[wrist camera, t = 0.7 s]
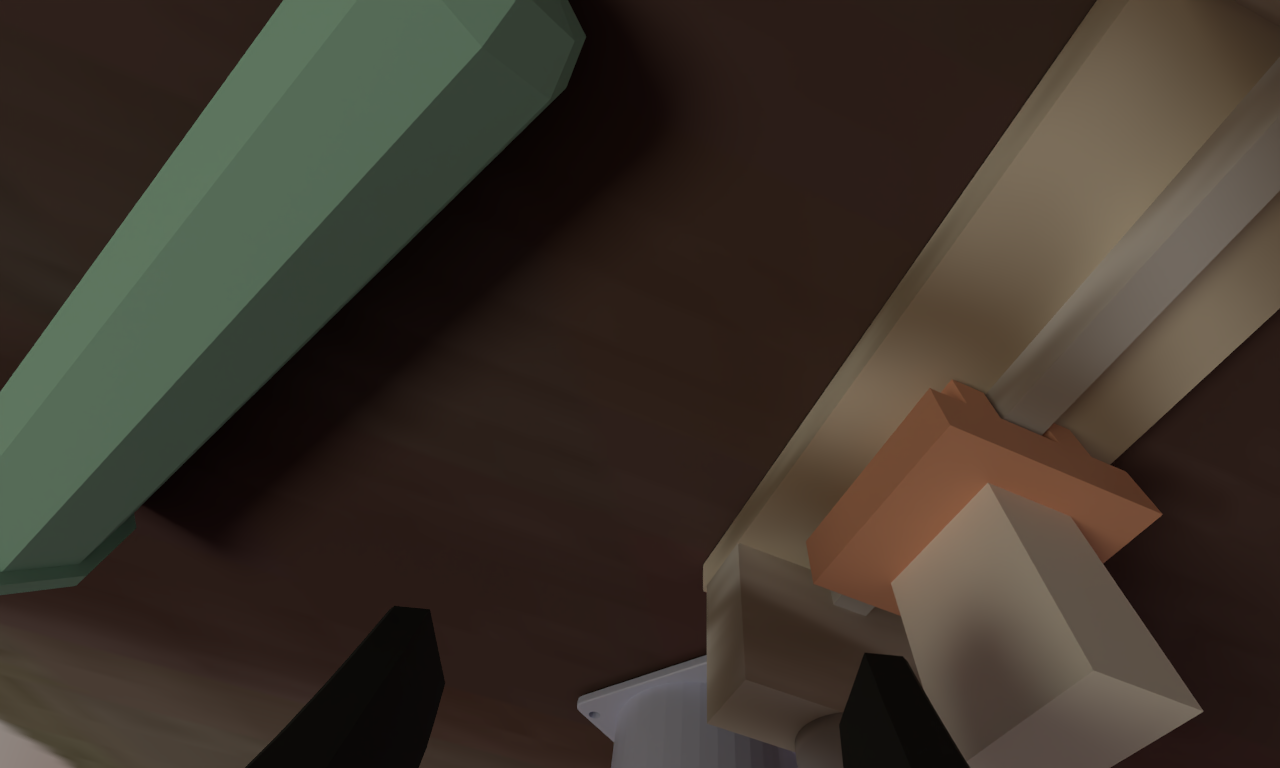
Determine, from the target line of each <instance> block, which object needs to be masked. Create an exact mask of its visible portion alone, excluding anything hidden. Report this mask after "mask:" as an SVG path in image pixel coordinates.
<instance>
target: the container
mask: <svg viewBox="0 0 1280 768" xmlns="http://www.w3.org/2000/svg"><path fill="white" fill-rule="evenodd" d="M585 38H586V35H585V33H584V31H583V29H582V27H581V25H580V23H579V21H578V19H577V17H576V15H575V13H574V11H573V9H572V7H571V5H570V3H569V1H568V0H283V2H282V3H281V4H280V6H279V7H278V9H277V10H276V11H275V13H274V14H273V16H272V17H271V18H270V20H269V21H268V22H267V24H266V25H265V27H264V28H263V29H262V31H261V32H260V33H259V35H258V36H257V38H256V39H255V40H254V42H253V43H252V45H251V46H250V47H249V49H248V50H247V51H246V53H245V54H244V56H243V57H242V58H241V60H240V61H239V63H238V64H237V65H236V67H235V68H234V69H233V71H232V72H231V74H230V75H229V76H228V78H227V79H226V81H225V82H224V83H223V85H222V86H221V87H220V89H219V90H218V92H217V93H216V94H215V96H214V97H213V98H212V100H211V101H210V103H209V104H208V105H207V107H206V108H205V110H204V111H203V112H202V114H201V115H200V116H199V118H198V119H197V121H196V122H195V123H194V125H193V126H192V128H191V129H190V130H189V132H188V133H187V134H186V136H185V137H184V139H183V140H182V141H181V143H180V144H179V146H178V147H177V148H176V150H175V151H174V152H173V154H172V155H171V157H170V158H169V159H168V161H167V162H166V163H165V165H164V166H163V168H162V169H161V170H160V172H159V173H158V175H157V176H156V177H155V179H154V180H153V181H152V183H151V184H150V186H149V187H148V188H147V190H146V191H145V193H144V194H143V195H142V197H141V198H140V199H139V201H138V202H137V204H136V205H135V206H134V208H133V209H132V211H131V212H130V213H129V215H128V216H127V217H126V219H125V220H124V222H123V223H122V224H121V226H120V227H119V228H118V230H117V231H116V233H115V234H114V235H113V237H112V238H111V240H110V241H109V242H108V244H107V245H106V246H105V248H104V249H103V251H102V252H101V253H100V255H99V256H98V258H97V259H96V260H95V262H94V263H93V264H92V266H91V267H90V269H89V270H88V271H87V273H86V274H85V275H84V277H83V278H82V280H81V281H80V282H79V284H78V285H77V287H76V288H75V289H74V291H73V292H72V293H71V295H70V296H69V298H68V299H67V300H66V302H65V303H64V305H63V306H62V307H61V309H60V310H59V311H58V313H57V314H56V316H55V317H54V318H53V320H52V321H51V323H50V324H49V325H48V327H47V328H46V329H45V331H44V332H43V334H42V335H41V336H40V338H39V339H38V340H37V342H36V343H35V345H34V346H33V347H32V349H31V350H30V352H29V353H28V354H27V356H26V357H25V358H24V360H23V361H22V363H21V364H20V365H19V367H18V368H17V370H16V371H15V372H14V374H13V375H12V376H11V378H10V379H9V381H8V382H7V383H6V385H5V386H4V388H3V389H2V390H1V392H0V595H5V594H13V593H21V592H29V591H37V590H45V589H53V588H62V587H70V586H76V585H77V584H78V583H79V582H80V581H81V580H82V579H83V578H84V577H86V576H87V575H88V574H89V573H90V572H91V571H92V570H93V569H94V568H95V567H96V566H97V565H98V564H99V563H100V562H101V561H102V560H103V559H104V558H105V557H106V556H108V555H109V554H110V553H111V552H112V551H113V550H114V549H115V548H116V547H117V546H118V545H119V544H120V543H121V542H122V541H123V540H124V539H125V538H126V537H127V536H128V535H129V534H131V533H132V532H133V531H134V530H135V529H136V523H135V516H134V512H135V511H136V510H137V509H138V508H139V507H140V506H141V505H142V504H143V503H144V502H145V501H146V500H147V499H148V498H149V497H150V496H151V495H152V494H153V493H154V492H155V491H156V490H157V489H159V488H160V487H161V486H162V485H163V484H164V483H165V482H166V481H167V480H168V479H169V478H170V477H171V476H172V475H173V474H174V473H175V472H176V471H177V470H178V469H179V468H180V467H181V466H182V465H183V464H184V463H185V462H186V461H187V460H188V459H189V458H190V457H191V456H192V455H193V454H194V453H195V452H196V451H197V450H198V449H199V448H200V447H201V446H202V445H203V444H204V443H205V442H206V441H207V440H208V439H209V438H210V437H211V436H212V435H213V434H215V433H216V432H217V431H218V430H219V429H220V428H221V427H222V426H223V425H224V424H225V423H226V422H227V421H228V420H229V419H230V418H231V417H232V416H233V415H234V414H235V413H236V412H237V411H238V410H239V409H240V408H241V407H242V406H243V405H244V404H245V403H246V402H247V401H248V400H249V399H250V398H251V397H252V396H253V395H254V394H255V393H256V392H257V391H258V390H259V389H260V388H261V387H262V386H263V385H264V384H265V383H266V382H267V381H268V380H269V379H271V378H272V377H273V376H274V375H275V374H276V373H277V372H278V371H279V370H280V369H281V368H282V367H283V366H284V365H285V364H286V363H287V362H288V361H289V360H290V359H291V358H292V357H293V356H294V355H295V354H296V353H297V352H298V351H299V350H300V349H301V348H302V347H303V346H304V345H305V344H306V343H307V342H308V341H309V340H310V339H311V338H312V337H313V336H314V335H315V334H316V333H317V332H318V331H319V330H320V329H321V328H322V327H323V326H324V325H325V324H327V323H328V322H329V321H330V320H331V319H332V318H333V317H334V316H335V315H336V314H337V313H338V312H339V311H340V310H341V309H342V308H343V307H344V306H345V305H346V304H347V303H348V302H349V301H350V300H351V299H352V298H353V297H354V296H355V295H356V294H357V293H358V292H359V291H360V290H361V289H362V288H363V287H364V286H365V285H366V284H367V283H368V282H369V281H370V280H371V279H372V278H373V277H374V276H375V275H376V274H377V273H378V272H379V271H380V270H381V269H383V268H384V267H385V266H386V265H387V264H388V263H389V262H390V261H391V260H392V259H393V258H394V257H395V256H396V255H397V254H398V253H399V252H400V251H401V250H402V249H403V248H404V247H405V246H406V245H407V244H408V243H409V242H410V241H411V240H412V239H413V238H414V237H415V236H416V235H417V234H418V233H419V232H420V231H421V230H422V229H423V228H424V227H425V226H426V225H427V224H428V223H429V222H430V221H431V220H432V219H433V218H434V217H435V216H436V215H437V214H439V213H440V212H441V211H442V210H443V209H444V208H445V207H446V206H447V205H448V204H449V203H450V202H451V201H452V200H453V199H454V198H455V197H456V196H457V195H458V194H459V193H460V192H461V191H462V190H463V189H464V188H465V187H466V186H467V185H468V184H469V183H470V182H471V181H472V180H473V179H474V178H475V177H476V176H477V175H478V174H479V173H480V172H481V171H482V170H483V169H484V168H485V167H486V166H487V165H488V164H489V163H490V162H491V161H492V160H493V159H495V158H496V157H497V156H498V155H499V154H500V153H501V152H502V151H503V150H504V149H505V148H506V147H507V146H508V145H509V144H510V143H511V142H512V141H513V140H514V139H515V138H516V137H517V136H518V135H519V134H520V133H521V132H522V131H523V130H524V129H525V128H526V127H527V126H528V125H529V124H530V123H531V122H532V121H533V120H534V119H535V118H536V117H537V116H538V115H539V114H540V113H541V112H542V111H543V110H544V109H545V108H546V107H547V106H548V105H549V104H551V103H552V102H553V101H554V100H555V99H556V98H557V97H558V96H559V95H560V94H561V93H562V92H563V91H564V90H565V89H566V87H567V85H568V82H569V80H570V77H571V74H572V72H573V69H574V67H575V64H576V62H577V59H578V56H579V54H580V51H581V49H582V46H583V44H584V41H585Z"/></svg>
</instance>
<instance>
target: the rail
mask: <svg viewBox="0 0 1280 768" xmlns="http://www.w3.org/2000/svg"><path fill="white" fill-rule="evenodd" d="M1279 308H1280V0H1097V1H1096V3H1095V4H1094V5H1093V7H1092V8H1091V10H1090V11H1089V13H1088V14H1087V15H1086V17H1085V18H1084V20H1083V21H1082V23H1081V24H1080V26H1079V27H1078V28H1077V30H1076V31H1075V33H1074V34H1073V36H1072V37H1071V38H1070V40H1069V41H1068V43H1067V44H1066V46H1065V47H1064V48H1063V50H1062V51H1061V53H1060V54H1059V56H1058V57H1057V59H1056V60H1055V61H1054V63H1053V64H1052V66H1051V67H1050V69H1049V70H1048V71H1047V73H1046V74H1045V76H1044V77H1043V79H1042V80H1041V81H1040V83H1039V84H1038V86H1037V87H1036V89H1035V90H1034V91H1033V93H1032V94H1031V96H1030V97H1029V99H1028V100H1027V102H1026V103H1025V104H1024V106H1023V107H1022V109H1021V110H1020V112H1019V113H1018V114H1017V116H1016V117H1015V119H1014V120H1013V122H1012V123H1011V124H1010V126H1009V127H1008V129H1007V130H1006V132H1005V133H1004V135H1003V136H1002V137H1001V139H1000V140H999V142H998V143H997V145H996V146H995V147H994V149H993V150H992V152H991V153H990V155H989V156H988V157H987V159H986V160H985V162H984V163H983V165H982V166H981V167H980V169H979V170H978V172H977V173H976V175H975V176H974V178H973V179H972V180H971V182H970V183H969V185H968V186H967V188H966V189H965V190H964V192H963V193H962V195H961V196H960V198H959V199H958V200H957V202H956V203H955V205H954V206H953V208H952V209H951V210H950V212H949V213H948V215H947V216H946V218H945V219H944V221H943V222H942V223H941V225H940V226H939V228H938V229H937V231H936V232H935V233H934V235H933V236H932V238H931V239H930V241H929V242H928V243H927V245H926V246H925V248H924V249H923V251H922V252H921V254H920V255H919V256H918V258H917V259H916V261H915V262H914V264H913V265H912V266H911V268H910V269H909V271H908V272H907V274H906V275H905V276H904V278H903V279H902V281H901V282H900V284H899V285H898V286H897V288H896V289H895V291H894V292H893V294H892V295H891V297H890V298H889V299H888V301H887V302H886V304H885V305H884V307H883V308H882V309H881V311H880V312H879V314H878V315H877V317H876V318H875V319H874V321H873V322H872V324H871V325H870V327H869V328H868V330H867V331H866V332H865V334H864V335H863V337H862V338H861V340H860V341H859V342H858V344H857V345H856V347H855V348H854V350H853V351H852V352H851V354H850V355H849V357H848V358H847V360H846V361H845V362H844V364H843V365H842V367H841V368H840V370H839V371H838V373H837V374H836V375H835V377H834V378H833V380H832V381H831V383H830V384H829V385H828V387H827V388H826V390H825V391H824V393H823V394H822V395H821V397H820V398H819V400H818V401H817V403H816V404H815V405H814V407H813V408H812V410H811V411H810V413H809V414H808V416H807V417H806V418H805V420H804V421H803V423H802V424H801V426H800V427H799V428H798V430H797V431H796V433H795V434H794V436H793V437H792V438H791V440H790V441H789V443H788V444H787V446H786V447H785V449H784V450H783V451H782V453H781V454H780V456H779V457H778V459H777V460H776V461H775V463H774V464H773V466H772V467H771V469H770V470H769V471H768V473H767V474H766V476H765V477H764V479H763V480H762V481H761V483H760V484H759V486H758V487H757V489H756V490H755V492H754V493H753V494H752V496H751V497H750V499H749V500H748V502H747V503H746V504H745V506H744V507H743V509H742V510H741V512H740V513H739V514H738V516H737V517H736V519H735V520H734V522H733V523H732V525H731V526H730V527H729V529H728V530H727V532H726V533H725V535H724V536H723V537H722V539H721V540H720V542H719V543H718V545H717V546H716V547H715V549H714V550H713V552H712V553H711V555H710V556H709V557H708V559H707V560H706V562H705V563H704V565H703V591H705V592H707V724H710V725H713V726H716V727H719V728H722V729H725V730H728V731H731V732H734V733H737V734H740V735H744V736H747V737H750V738H753V739H756V740H759V741H762V742H765V743H768V744H771V745H774V746H777V747H780V748H783V749H786V750H789V751H792V752H796V760H797V766H798V768H843V760H842V750H841V739H840V729H839V723H840V721H841V718H842V715H843V712H844V709H845V706H846V704H847V701H848V698H849V695H850V692H851V689H852V686H853V684H854V681H855V678H856V675H857V672H858V669H859V666H860V664H861V661H862V658H863V655H864V652H865V653H875V654H885V655H895V656H903V657H904V658H905V659H906V660H907V661H908V663H909V665H910V667H911V668H912V670H913V672H914V674H915V675H916V677H917V679H918V681H919V683H920V684H921V686H922V683H921V680H920V677H919V673H918V670H917V667H916V664H915V660H914V657H913V654H912V651H911V647H910V644H909V641H908V638H907V634H906V631H905V628H904V624H903V621H902V618H901V616H899V615H897V614H894V613H891V612H888V611H886V610H883V609H880V608H878V607H875V606H872V605H869V604H867V603H864V602H861V601H859V600H856V599H853V598H850V597H848V596H845V595H842V594H840V593H837V592H834V591H831V590H829V589H826V588H823V587H821V586H818V585H815V584H813V579H812V573H811V568H810V562H809V556H808V551H807V545H806V541H807V539H808V538H809V537H810V536H811V534H812V533H813V532H814V531H815V529H816V528H817V527H818V526H819V524H820V523H821V522H822V521H823V520H824V518H825V517H826V516H827V515H828V513H829V512H830V511H831V510H832V508H833V507H834V506H835V505H836V503H837V502H838V501H839V500H840V498H841V497H842V496H843V495H844V493H845V492H846V491H847V490H848V488H849V487H850V486H851V485H852V484H853V482H854V481H855V480H856V479H857V477H858V476H859V475H860V474H861V472H862V471H863V470H864V469H865V467H866V466H867V465H868V464H869V462H870V461H871V460H872V459H873V457H874V456H875V455H876V454H877V453H878V451H879V450H880V449H881V448H882V446H883V445H884V444H885V443H886V441H887V440H888V439H889V438H890V436H891V435H892V434H893V433H894V431H895V430H896V429H897V428H898V426H899V425H900V424H901V423H902V421H903V420H904V419H905V418H906V417H907V415H908V414H909V413H910V412H911V410H912V409H913V408H914V407H915V405H916V404H917V403H918V402H919V400H920V399H921V398H922V397H923V395H924V394H925V393H926V392H927V390H928V389H929V388H931V389H933V390H936V391H938V392H940V393H941V392H942V390H943V389H944V388H945V387H946V385H947V384H948V383H949V382H950V381H951V379H953V380H955V381H957V382H960V383H962V384H964V385H967V386H969V387H971V388H974V389H976V390H978V391H980V392H983V393H984V394H985V396H986V397H987V399H988V400H989V402H990V403H991V405H992V406H993V408H994V409H995V411H996V412H997V414H998V415H999V417H1000V418H1001V419H1004V420H1006V421H1008V422H1011V423H1013V424H1015V425H1018V426H1020V427H1022V428H1025V429H1027V430H1029V431H1032V432H1034V433H1036V434H1039V435H1041V436H1042V435H1043V434H1044V432H1045V431H1046V430H1047V429H1048V428H1049V427H1050V426H1051V425H1052V424H1053V423H1055V424H1057V425H1059V426H1062V427H1064V428H1066V429H1069V430H1070V431H1071V432H1072V434H1073V435H1074V436H1075V437H1076V438H1077V440H1078V441H1079V442H1080V443H1081V445H1082V446H1083V447H1084V448H1085V450H1086V451H1087V452H1088V453H1089V454H1090V456H1091V457H1093V458H1095V459H1097V460H1100V461H1102V462H1104V463H1107V464H1109V465H1110V464H1111V463H1112V462H1114V461H1115V460H1116V459H1117V458H1118V457H1119V456H1120V455H1121V454H1122V453H1123V452H1124V451H1125V450H1127V449H1128V448H1129V447H1130V446H1131V445H1132V444H1133V443H1134V442H1135V441H1136V440H1137V439H1138V438H1140V437H1141V436H1142V435H1143V434H1144V433H1145V432H1146V431H1147V430H1148V429H1149V428H1150V427H1151V426H1153V425H1154V424H1155V423H1156V422H1157V421H1158V420H1159V419H1160V418H1161V417H1162V416H1163V415H1164V414H1166V413H1167V412H1168V411H1169V410H1170V409H1171V408H1172V407H1173V406H1174V405H1175V404H1176V403H1178V402H1179V401H1180V400H1181V399H1182V398H1183V397H1184V396H1185V395H1186V394H1187V393H1188V392H1189V391H1191V390H1192V389H1193V388H1194V387H1195V386H1196V385H1197V384H1198V383H1199V382H1200V381H1201V380H1202V379H1204V378H1205V377H1206V376H1207V375H1208V374H1209V373H1210V372H1211V371H1212V370H1213V369H1214V368H1215V367H1217V366H1218V365H1219V364H1220V363H1221V362H1222V361H1223V360H1224V359H1225V358H1226V357H1227V356H1228V355H1230V354H1231V353H1232V352H1233V351H1234V350H1235V349H1236V348H1237V347H1238V346H1239V345H1240V344H1241V343H1243V342H1244V341H1245V340H1246V339H1247V338H1248V337H1249V336H1250V335H1251V334H1252V333H1253V332H1254V331H1256V330H1257V329H1258V328H1259V327H1260V326H1261V325H1262V324H1263V323H1264V322H1265V321H1266V320H1268V319H1269V318H1270V317H1271V316H1272V315H1273V314H1274V313H1275V312H1276V311H1277V310H1278V309H1279ZM922 688H923V686H922Z"/></svg>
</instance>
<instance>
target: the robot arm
mask: <svg viewBox="0 0 1280 768" xmlns="http://www.w3.org/2000/svg"><path fill="white" fill-rule="evenodd" d="M444 685H445V681H444V676H443V671H442V666H441V662H440V657H439V652H438V647H437V642H436V637H435V632H434V627H433V623H432V618H431V613H430V609H419V608H409V607H399V606H394V607H393V608H391V609H390V610H389V611H388V612H387V613H386V614H385V616H384V617H383V618H382V619H381V620H380V622H379V623H378V624H377V625H376V626H375V627H374V629H373V630H372V631H371V632H370V633H369V634H368V636H367V637H366V638H365V639H364V640H363V641H362V643H361V644H360V645H359V646H358V647H357V648H356V650H355V651H354V652H353V653H352V654H351V655H350V656H349V658H348V659H347V660H346V661H345V662H344V663H343V664H342V666H341V667H340V668H339V669H338V670H337V671H336V672H335V673H334V675H333V676H332V677H331V678H330V679H329V680H328V681H327V682H326V684H325V685H324V686H323V687H322V688H321V689H320V690H319V691H318V692H317V693H316V694H315V695H314V697H313V698H312V699H311V700H310V701H309V702H308V703H307V704H306V705H305V706H304V707H303V708H302V710H301V711H300V712H299V713H298V714H297V715H296V716H295V717H294V718H293V719H292V720H291V721H290V722H289V724H288V725H287V726H286V727H285V728H284V729H283V730H282V731H281V732H280V733H279V734H278V735H277V736H276V737H275V738H274V739H273V740H272V741H271V742H270V743H269V744H268V745H267V746H266V747H265V748H264V749H263V750H262V751H261V752H260V753H259V754H258V755H257V756H256V757H255V758H254V759H253V760H252V761H251V762H250V763H249V764H248V765H247V766H246V767H245V768H419V765H420V763H421V760H422V758H423V755H424V753H425V750H426V747H427V744H428V741H429V737H430V734H431V731H432V727H433V724H434V721H435V717H436V714H437V710H438V707H439V703H440V699H441V696H442V692H443V689H444ZM577 709H578V710H579V711H580V712H581V713H582V714H583V715H584V716H585V717H586V718H587V719H589V720H590V721H591V722H592V723H593V724H594V725H595V726H596V727H598V728H599V729H600V730H601V731H602V732H603V733H604V734H605V735H607V736H608V737H609V738H610V739H611V740H612V741H613V742H614V748H613V756H612V764H611V768H798V766H797V760H796V752H792V751H789V750H786V749H783V748H780V747H777V746H774V745H771V744H768V743H765V742H762V741H759V740H756V739H753V738H750V737H747V736H744V735H740V734H737V733H734V732H731V731H728V730H725V729H722V728H719V727H716V726H713V725H710V724H707V655H705V656H702V657H698V658H695V659H692V660H689V661H686V662H683V663H680V664H677V665H674V666H671V667H668V668H665V669H662V670H659V671H656V672H653V673H650V674H647V675H644V676H640V677H637V678H634V679H631V680H628V681H625V682H622V683H619V684H616V685H613V686H610V687H607V688H604V689H601V690H598V691H595V692H592V693H589V694H586V695H583V696H581V697H579V699H578V703H577ZM839 729H840V739H841V750H842V760H843V768H970V767H969V765H968V763H967V762H966V760H965V759H964V757H963V755H962V754H961V752H960V751H959V749H958V747H957V746H956V744H955V742H954V741H953V739H952V737H951V736H950V734H949V732H948V731H947V729H946V727H945V726H944V724H943V722H942V721H941V719H940V717H939V715H938V714H937V712H936V710H935V709H934V707H933V705H932V704H931V702H930V700H929V698H928V697H927V695H926V693H925V691H924V690H923V688H922V686H921V684H920V683H919V681H918V679H917V677H916V675H915V674H914V672H913V670H912V668H911V667H910V665H909V663H908V661H907V660H906V659H905V658H904V657H903V656H895V655H885V654H875V653H865V652H864V655H863V658H862V661H861V664H860V666H859V669H858V672H857V675H856V678H855V681H854V684H853V686H852V689H851V692H850V695H849V698H848V701H847V704H846V706H845V709H844V712H843V715H842V718H841V721H840V723H839Z"/></svg>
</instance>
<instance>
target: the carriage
mask: <svg viewBox="0 0 1280 768" xmlns="http://www.w3.org/2000/svg"><path fill="white" fill-rule="evenodd" d="M1161 515H1163V514H1162V513H1161V512H1160V511H1159V509H1158V508H1157V507H1156V506H1155V505H1154V504H1153V502H1152V501H1151V500H1150V499H1149V498H1148V497H1147V495H1146V494H1145V493H1144V492H1143V491H1142V490H1141V488H1140V487H1139V486H1138V485H1137V484H1136V483H1135V482H1134V480H1133V479H1132V478H1131V477H1130V476H1129V475H1128V473H1127V472H1125V471H1123V470H1121V469H1118V468H1116V467H1114V466H1111V465H1109V464H1107V463H1104V462H1102V461H1100V460H1097V459H1095V458H1093V457H1091V456H1090V454H1089V453H1088V452H1087V451H1086V450H1085V448H1084V447H1083V446H1082V445H1081V443H1080V442H1079V441H1078V440H1077V438H1076V437H1075V436H1074V435H1073V434H1072V432H1071V431H1070V430H1069V429H1066V428H1064V427H1062V426H1059V425H1057V424H1055V423H1053V424H1052V425H1051V426H1050V427H1049V428H1048V429H1047V430H1046V431H1045V432H1044V434H1043V435H1042V436H1041V435H1039V434H1036V433H1034V432H1032V431H1029V430H1027V429H1025V428H1022V427H1020V426H1018V425H1015V424H1013V423H1011V422H1008V421H1006V420H1004V419H1001V418H1000V417H999V415H998V414H997V412H996V411H995V409H994V408H993V406H992V405H991V403H990V402H989V400H988V399H987V397H986V396H985V394H984V393H983V392H980V391H978V390H976V389H974V388H971V387H969V386H967V385H964V384H962V383H960V382H957V381H955V380H953V379H951V381H950V382H949V383H948V384H947V385H946V387H945V388H944V389H943V390H942V392H941V393H940V392H938V391H936V390H933V389H931V388H929V389H928V390H927V392H926V393H925V394H924V395H923V397H922V398H921V399H920V400H919V402H918V403H917V404H916V405H915V407H914V408H913V409H912V410H911V412H910V413H909V414H908V415H907V417H906V418H905V419H904V420H903V421H902V423H901V424H900V425H899V426H898V428H897V429H896V430H895V431H894V433H893V434H892V435H891V436H890V438H889V439H888V440H887V441H886V443H885V444H884V445H883V446H882V448H881V449H880V450H879V451H878V453H877V454H876V455H875V456H874V457H873V459H872V460H871V461H870V462H869V464H868V465H867V466H866V467H865V469H864V470H863V471H862V472H861V474H860V475H859V476H858V477H857V479H856V480H855V481H854V482H853V484H852V485H851V486H850V487H849V488H848V490H847V491H846V492H845V493H844V495H843V496H842V497H841V498H840V500H839V501H838V502H837V503H836V505H835V506H834V507H833V508H832V510H831V511H830V512H829V513H828V515H827V516H826V517H825V518H824V520H823V521H822V522H821V523H820V524H819V526H818V527H817V528H816V529H815V531H814V532H813V533H812V534H811V536H810V537H809V538H808V539H807V541H806V545H807V551H808V556H809V562H810V568H811V573H812V579H813V584H815V585H818V586H821V587H823V588H826V589H829V590H831V591H834V592H837V593H840V594H842V595H845V596H848V597H850V598H853V599H856V600H859V601H861V602H864V603H867V604H869V605H872V606H875V607H878V608H880V609H883V610H886V611H888V612H891V613H894V614H897V615H899V616H901V618H902V621H903V624H904V628H905V631H906V634H907V638H908V641H909V644H910V647H911V651H912V654H913V657H914V660H915V664H916V667H917V670H918V673H919V677H920V680H921V683H922V686H923V690H924V691H925V693H926V695H927V697H928V698H929V700H930V702H931V704H932V705H933V707H934V709H935V710H936V712H937V714H938V715H939V717H940V719H941V721H942V722H943V724H944V726H945V727H946V729H947V731H948V732H949V734H950V736H951V737H952V739H953V741H954V742H955V744H956V746H957V747H958V749H959V751H960V752H961V754H962V755H963V757H964V759H965V760H966V762H967V763H968V765H969V767H970V768H1110V767H1112V766H1114V765H1115V764H1117V763H1119V762H1120V761H1122V760H1124V759H1125V758H1127V757H1129V756H1130V755H1132V754H1134V753H1135V752H1137V751H1139V750H1140V749H1142V748H1144V747H1145V746H1147V745H1149V744H1150V743H1152V742H1154V741H1155V740H1157V739H1159V738H1160V737H1162V736H1164V735H1165V734H1167V733H1169V732H1170V731H1172V730H1174V729H1175V728H1177V727H1179V726H1180V725H1182V724H1184V723H1185V722H1187V721H1189V720H1190V719H1192V718H1194V717H1195V716H1197V715H1199V714H1200V713H1202V712H1203V710H1202V708H1201V707H1200V705H1199V704H1198V702H1197V701H1196V700H1195V698H1194V697H1193V695H1192V694H1191V692H1190V691H1189V689H1188V688H1187V686H1186V685H1185V683H1184V682H1183V680H1182V679H1181V678H1180V676H1179V675H1178V673H1177V672H1176V670H1175V669H1174V667H1173V666H1172V664H1171V663H1170V661H1169V660H1168V658H1167V657H1166V656H1165V654H1164V653H1163V651H1162V650H1161V648H1160V647H1159V645H1158V644H1157V642H1156V641H1155V639H1154V638H1153V636H1152V635H1151V634H1150V632H1149V631H1148V629H1147V628H1146V626H1145V625H1144V623H1143V622H1142V620H1141V619H1140V617H1139V616H1138V614H1137V613H1136V612H1135V610H1134V609H1133V607H1132V606H1131V604H1130V603H1129V601H1128V600H1127V598H1126V597H1125V595H1124V594H1123V592H1122V591H1121V590H1120V588H1119V587H1118V585H1117V584H1116V582H1115V581H1114V579H1113V578H1112V576H1111V575H1110V573H1109V572H1108V570H1107V569H1106V568H1105V566H1104V565H1103V563H1104V562H1106V561H1107V560H1108V559H1109V558H1110V557H1112V556H1113V555H1114V554H1115V553H1117V552H1118V551H1119V550H1120V549H1121V548H1123V547H1124V546H1125V545H1126V544H1127V543H1129V542H1130V541H1131V540H1132V539H1134V538H1135V537H1136V536H1137V535H1138V534H1140V533H1141V532H1142V531H1143V530H1144V529H1146V528H1147V527H1148V526H1149V525H1151V524H1152V523H1153V522H1154V521H1155V520H1157V519H1158V518H1159V517H1160V516H1161Z"/></svg>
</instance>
